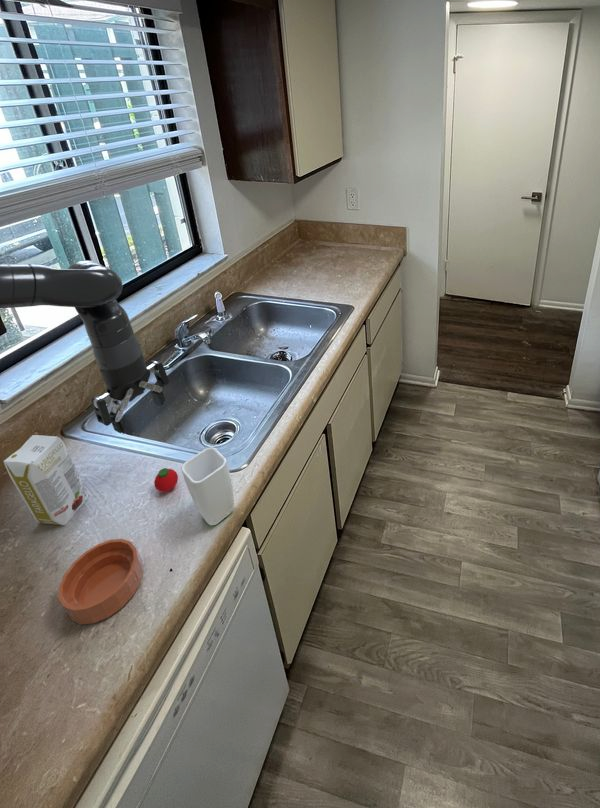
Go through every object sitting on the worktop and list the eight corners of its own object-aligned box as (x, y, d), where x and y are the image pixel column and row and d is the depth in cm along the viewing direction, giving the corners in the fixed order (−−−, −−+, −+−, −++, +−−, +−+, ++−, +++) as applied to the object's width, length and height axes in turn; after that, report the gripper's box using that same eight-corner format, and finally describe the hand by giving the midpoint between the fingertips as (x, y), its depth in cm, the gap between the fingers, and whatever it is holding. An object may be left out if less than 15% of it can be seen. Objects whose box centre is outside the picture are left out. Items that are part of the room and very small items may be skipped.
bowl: (67, 642, 74) (57, 626, 72) (68, 578, 84) (59, 562, 82) (147, 597, 81) (140, 581, 78) (140, 542, 90) (133, 526, 88)
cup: (194, 514, 95) (177, 466, 89) (224, 491, 100) (211, 444, 94) (210, 534, 91) (195, 486, 85) (242, 509, 96) (229, 462, 90)
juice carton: (94, 494, 100) (66, 433, 92) (64, 530, 92) (30, 467, 84) (64, 491, 101) (33, 430, 92) (32, 527, 93) (-5, 464, 85)
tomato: (158, 500, 98) (152, 484, 96) (155, 485, 102) (150, 469, 100) (181, 489, 101) (176, 474, 99) (178, 475, 104) (172, 459, 102)
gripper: (140, 333, 94) (160, 391, 101) (70, 372, 82) (97, 435, 89) (164, 342, 91) (182, 401, 98) (94, 383, 79) (121, 447, 86)
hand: (142, 417), depth 93 cm, fingers open, 8 cm apart
